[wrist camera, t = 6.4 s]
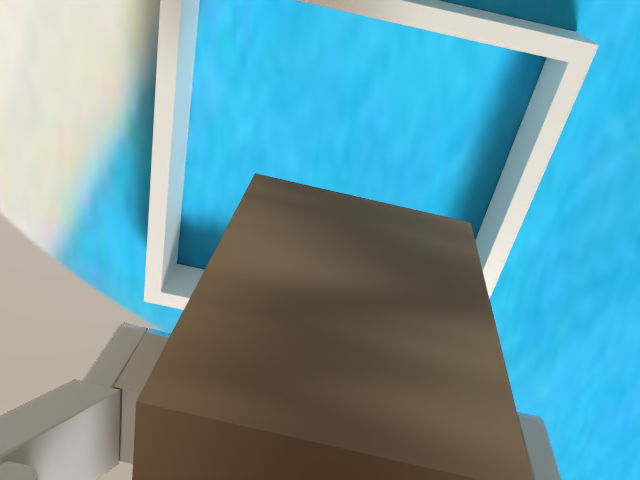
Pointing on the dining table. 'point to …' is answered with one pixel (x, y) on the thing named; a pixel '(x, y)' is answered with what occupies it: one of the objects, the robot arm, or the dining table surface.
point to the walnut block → (332, 352)
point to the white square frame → (394, 6)
